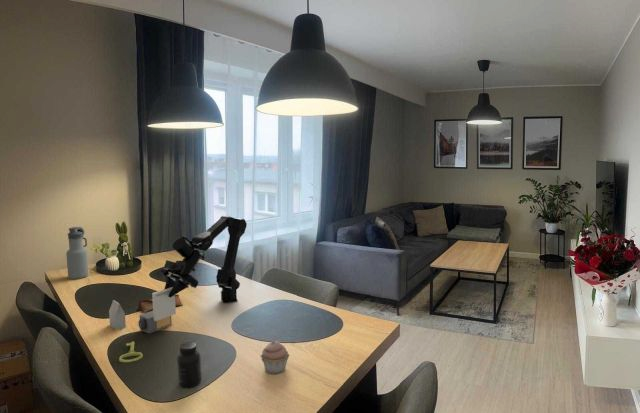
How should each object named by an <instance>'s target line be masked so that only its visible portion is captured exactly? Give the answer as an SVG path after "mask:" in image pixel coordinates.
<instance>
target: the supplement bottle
mask: <svg viewBox="0 0 640 413" xmlns="http://www.w3.org/2000/svg"><path fill="white" fill-rule="evenodd" d="M201 362H202V360H201V354H200V352H199V351H198V348H197V344H196V342H193V341H188V342H187V341H186V342H184V343H182V344H180V345H179V354H178V355H177V356H176V366H177V368H176V369H177V379H178V380H177V381H178V386H179V387H181V388H182V389H191V388H195V387H197V386H198V385H200V384H201V382H202V377H203V376H202V363H201Z"/></svg>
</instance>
